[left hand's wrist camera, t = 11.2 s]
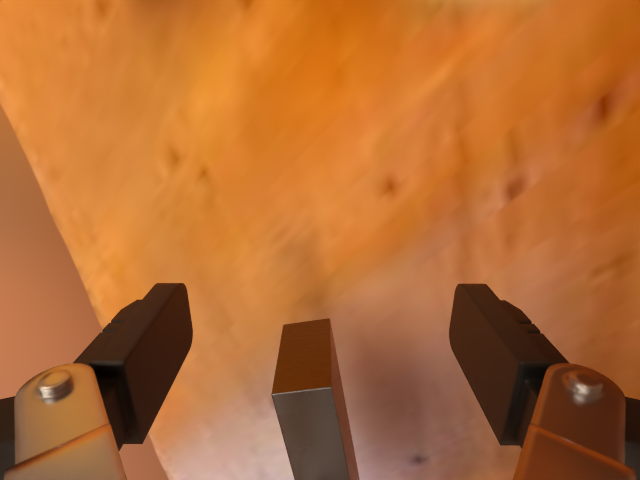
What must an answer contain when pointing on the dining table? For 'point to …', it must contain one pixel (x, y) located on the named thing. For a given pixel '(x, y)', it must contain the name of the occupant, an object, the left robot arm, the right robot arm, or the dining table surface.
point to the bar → (313, 404)
